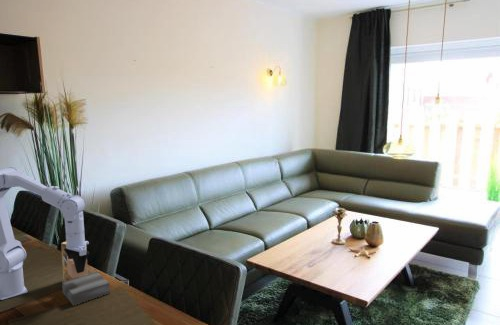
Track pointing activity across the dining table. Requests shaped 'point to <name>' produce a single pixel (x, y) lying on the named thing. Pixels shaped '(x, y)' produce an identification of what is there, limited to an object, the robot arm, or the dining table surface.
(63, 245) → the candy box
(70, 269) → the terracotta cube
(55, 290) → the dining table surface
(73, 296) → the grey flat square block
